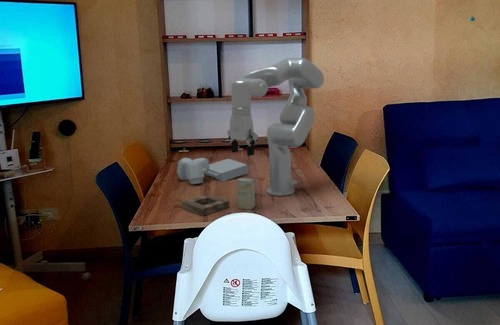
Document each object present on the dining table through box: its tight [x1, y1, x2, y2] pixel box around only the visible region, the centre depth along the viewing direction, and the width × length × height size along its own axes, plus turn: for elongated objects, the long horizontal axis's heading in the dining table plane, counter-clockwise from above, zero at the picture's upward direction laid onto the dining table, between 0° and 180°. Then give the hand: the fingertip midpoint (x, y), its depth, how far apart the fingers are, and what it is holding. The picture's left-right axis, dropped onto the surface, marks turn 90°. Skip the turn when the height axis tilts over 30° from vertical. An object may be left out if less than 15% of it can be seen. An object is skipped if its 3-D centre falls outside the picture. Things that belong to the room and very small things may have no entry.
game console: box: [176, 157, 249, 185], centre depth 247 cm, size 20×32×13 cm, turn 124°
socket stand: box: [181, 193, 230, 217], centre depth 201 cm, size 14×14×3 cm
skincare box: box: [236, 177, 255, 211], centre depth 199 cm, size 6×4×12 cm
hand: (242, 153), depth 196 cm, fingers open, 9 cm apart
